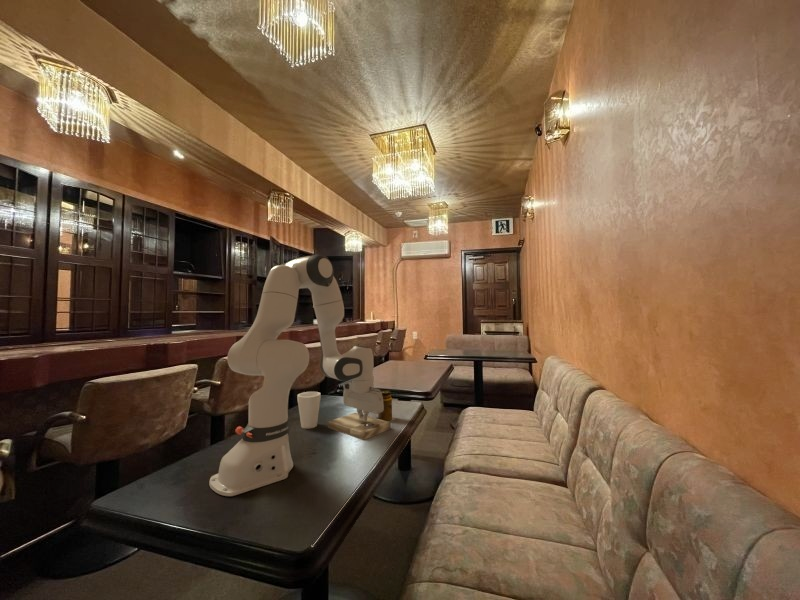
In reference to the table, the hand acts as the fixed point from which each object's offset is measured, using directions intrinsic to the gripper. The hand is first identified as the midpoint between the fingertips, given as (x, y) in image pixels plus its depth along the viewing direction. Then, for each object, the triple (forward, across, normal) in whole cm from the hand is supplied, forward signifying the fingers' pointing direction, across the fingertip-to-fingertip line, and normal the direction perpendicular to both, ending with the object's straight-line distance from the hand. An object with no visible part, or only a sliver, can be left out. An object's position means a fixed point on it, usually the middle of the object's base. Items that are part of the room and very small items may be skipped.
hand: (363, 420), depth 132 cm
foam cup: (+4, +21, +11) cm, 24 cm away
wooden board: (+4, +2, 0) cm, 4 cm away
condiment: (+4, +2, -14) cm, 15 cm away
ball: (+2, -4, 0) cm, 4 cm away
